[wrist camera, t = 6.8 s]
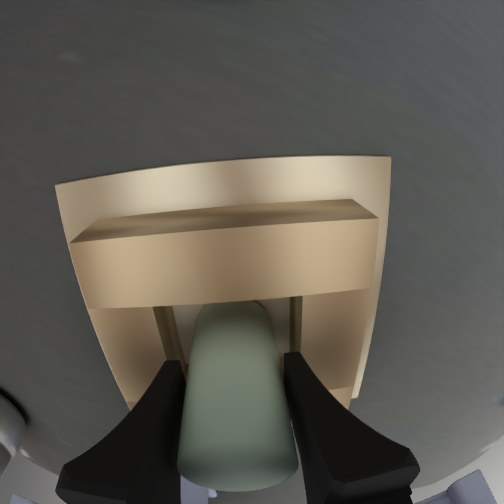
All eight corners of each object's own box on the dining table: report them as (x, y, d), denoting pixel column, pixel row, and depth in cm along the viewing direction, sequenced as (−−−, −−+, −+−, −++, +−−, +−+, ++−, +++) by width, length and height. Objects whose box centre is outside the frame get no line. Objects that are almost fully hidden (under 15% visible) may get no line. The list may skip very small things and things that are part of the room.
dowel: (208, 364, 17) (202, 494, 9) (183, 307, 15) (155, 448, 8) (279, 349, 16) (305, 481, 9) (263, 288, 15) (288, 432, 8)
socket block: (133, 409, 19) (124, 446, 16) (58, 183, 13) (21, 201, 10) (355, 393, 20) (370, 429, 17) (387, 156, 14) (425, 167, 10)
